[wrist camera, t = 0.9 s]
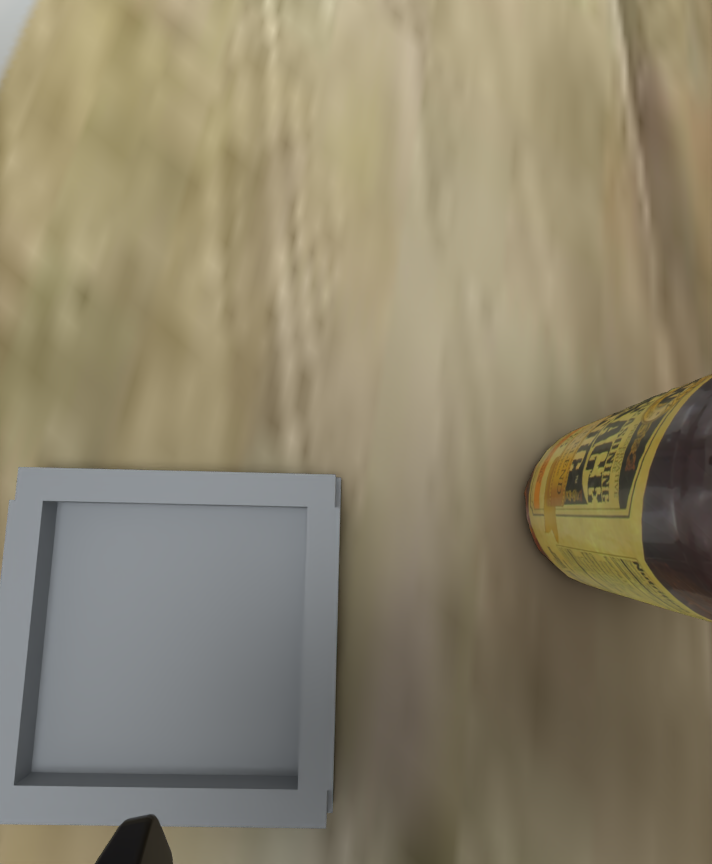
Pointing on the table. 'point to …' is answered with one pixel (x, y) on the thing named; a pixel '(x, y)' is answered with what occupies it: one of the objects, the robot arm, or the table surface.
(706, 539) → the sauce bottle
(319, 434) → the table surface
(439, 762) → the table surface
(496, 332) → the table surface
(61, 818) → the keeper tray
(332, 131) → the table surface
